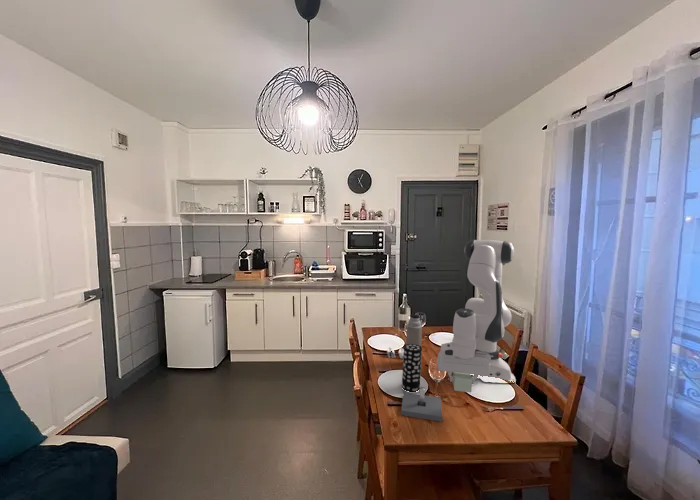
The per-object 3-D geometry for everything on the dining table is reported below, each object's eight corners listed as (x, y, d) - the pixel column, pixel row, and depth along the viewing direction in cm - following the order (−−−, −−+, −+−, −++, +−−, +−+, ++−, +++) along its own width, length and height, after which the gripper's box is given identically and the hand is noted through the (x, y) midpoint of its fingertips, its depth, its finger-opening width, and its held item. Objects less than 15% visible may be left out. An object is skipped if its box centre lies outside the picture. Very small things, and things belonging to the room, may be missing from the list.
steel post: (423, 405, 133) (424, 387, 132) (423, 408, 131) (424, 390, 130) (419, 404, 133) (420, 387, 133) (419, 407, 132) (420, 389, 131)
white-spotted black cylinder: (399, 389, 146) (401, 348, 144) (404, 382, 154) (406, 342, 152) (416, 395, 142) (419, 352, 141) (421, 386, 150) (424, 346, 148)
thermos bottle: (418, 362, 176) (421, 313, 174) (421, 368, 168) (424, 317, 166) (404, 361, 176) (406, 312, 174) (406, 368, 168) (408, 317, 166)
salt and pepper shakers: (407, 360, 178) (408, 353, 189) (407, 353, 178) (408, 346, 188) (386, 358, 181) (388, 350, 191) (386, 350, 180) (388, 344, 191)
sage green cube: (468, 384, 130) (469, 371, 130) (471, 392, 124) (471, 379, 124) (452, 382, 132) (453, 369, 131) (454, 390, 126) (454, 377, 125)
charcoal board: (440, 402, 137) (440, 397, 137) (442, 421, 124) (442, 417, 124) (403, 396, 141) (403, 392, 141) (401, 414, 127) (401, 410, 127)
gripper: (489, 349, 127) (487, 381, 129) (437, 344, 132) (436, 375, 133) (492, 355, 121) (491, 389, 123) (438, 350, 126) (436, 383, 127)
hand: (461, 382), depth 128 cm, fingers closed on sage green cube, 6 cm apart
